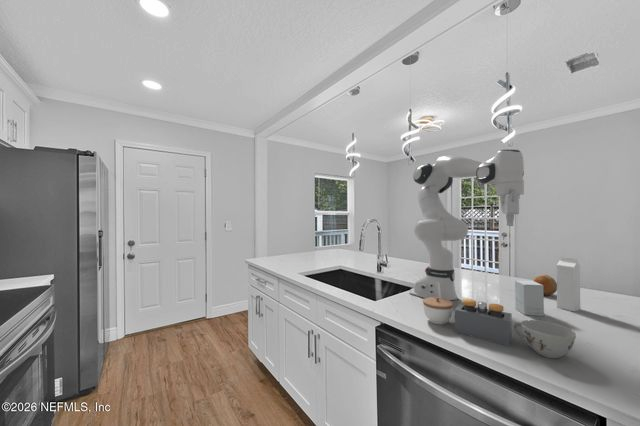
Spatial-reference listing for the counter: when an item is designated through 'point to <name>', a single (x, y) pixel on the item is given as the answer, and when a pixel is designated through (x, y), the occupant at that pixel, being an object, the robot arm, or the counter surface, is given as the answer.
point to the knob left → (469, 305)
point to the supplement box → (529, 298)
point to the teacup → (547, 337)
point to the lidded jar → (438, 310)
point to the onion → (547, 284)
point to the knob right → (496, 310)
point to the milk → (568, 284)
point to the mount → (484, 325)
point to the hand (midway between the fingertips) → (510, 225)
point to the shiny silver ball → (482, 307)
